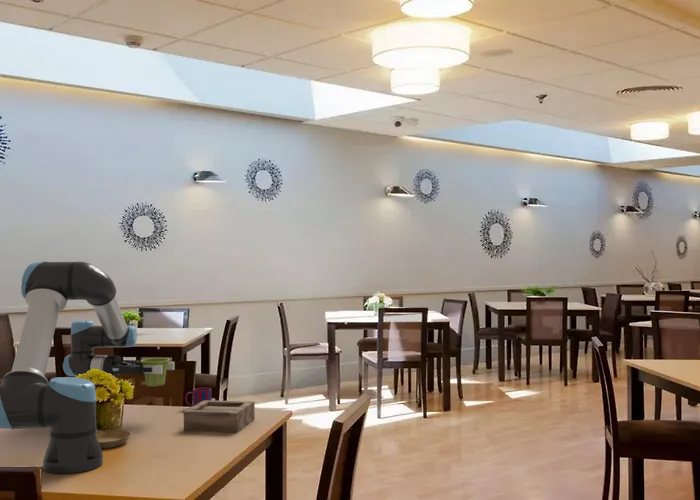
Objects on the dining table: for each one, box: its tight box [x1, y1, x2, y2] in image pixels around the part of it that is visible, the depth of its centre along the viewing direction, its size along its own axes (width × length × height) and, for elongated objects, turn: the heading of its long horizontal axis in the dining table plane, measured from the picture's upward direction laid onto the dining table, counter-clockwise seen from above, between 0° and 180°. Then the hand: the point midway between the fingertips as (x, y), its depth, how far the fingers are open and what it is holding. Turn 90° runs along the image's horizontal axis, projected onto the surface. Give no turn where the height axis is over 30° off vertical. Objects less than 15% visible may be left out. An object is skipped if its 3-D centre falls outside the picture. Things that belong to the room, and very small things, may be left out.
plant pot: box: [140, 357, 170, 387], centre depth 252 cm, size 9×9×9 cm
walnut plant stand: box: [183, 399, 256, 433], centre depth 245 cm, size 18×18×6 cm
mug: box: [184, 387, 212, 407], centre depth 272 cm, size 7×10×7 cm
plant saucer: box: [96, 429, 132, 449], centre depth 222 cm, size 15×15×3 cm
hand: (168, 367), depth 251 cm, fingers closed on plant pot, 8 cm apart
